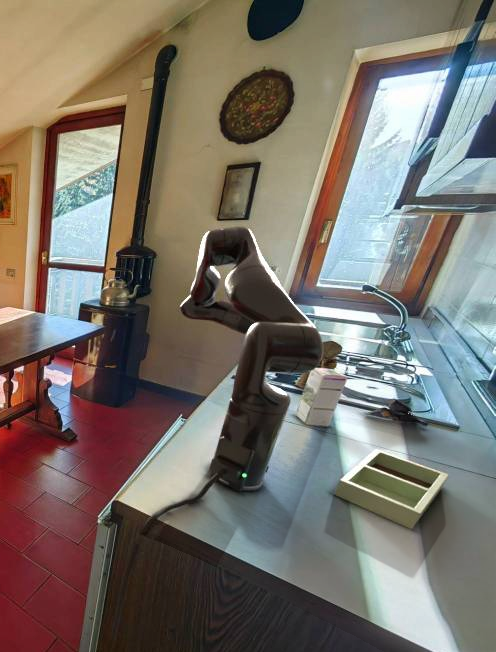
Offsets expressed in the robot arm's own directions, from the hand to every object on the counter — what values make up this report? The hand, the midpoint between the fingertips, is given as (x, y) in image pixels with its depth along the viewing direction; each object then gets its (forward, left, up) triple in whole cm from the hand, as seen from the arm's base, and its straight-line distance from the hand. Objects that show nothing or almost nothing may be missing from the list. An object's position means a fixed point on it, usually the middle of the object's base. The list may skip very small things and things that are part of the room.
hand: (303, 340), depth 104 cm
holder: (-24, -29, -21) cm, 43 cm away
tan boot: (+26, +1, -21) cm, 34 cm away
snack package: (+20, -20, -21) cm, 35 cm away
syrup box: (-1, -8, -21) cm, 22 cm away
